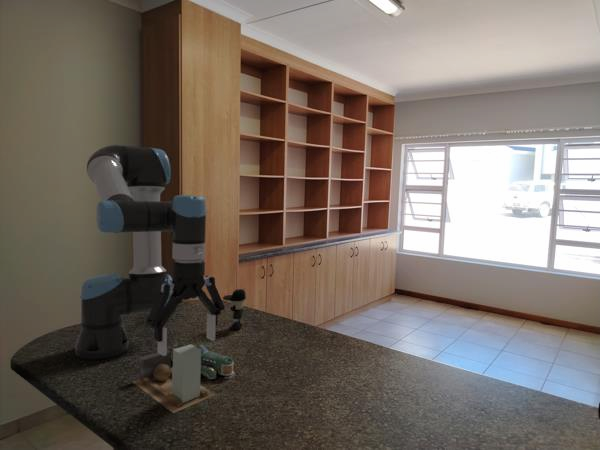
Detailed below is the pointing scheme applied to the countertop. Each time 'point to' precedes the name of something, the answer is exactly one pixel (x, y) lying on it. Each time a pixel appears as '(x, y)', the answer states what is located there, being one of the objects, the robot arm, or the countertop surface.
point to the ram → (186, 373)
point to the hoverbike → (212, 363)
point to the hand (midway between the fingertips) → (187, 346)
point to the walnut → (162, 372)
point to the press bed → (163, 383)
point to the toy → (236, 307)
